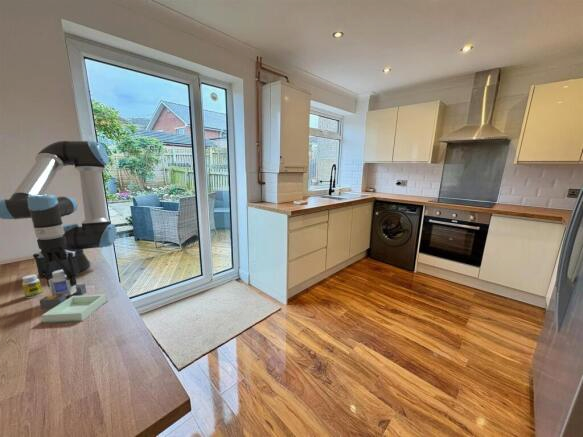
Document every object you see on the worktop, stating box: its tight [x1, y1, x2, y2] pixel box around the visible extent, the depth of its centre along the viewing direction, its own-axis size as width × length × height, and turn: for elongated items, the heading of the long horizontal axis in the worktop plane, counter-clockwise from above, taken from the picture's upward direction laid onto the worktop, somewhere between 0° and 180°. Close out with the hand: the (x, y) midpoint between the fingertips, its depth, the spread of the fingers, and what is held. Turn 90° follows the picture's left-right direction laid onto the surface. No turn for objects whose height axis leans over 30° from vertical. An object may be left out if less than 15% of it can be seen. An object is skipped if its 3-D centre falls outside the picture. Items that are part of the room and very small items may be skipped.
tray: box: [41, 293, 108, 324], centre depth 84 cm, size 12×12×3 cm
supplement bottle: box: [21, 274, 43, 299], centre depth 96 cm, size 5×5×8 cm
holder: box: [39, 283, 87, 310], centre depth 92 cm, size 12×7×4 cm, turn 4°
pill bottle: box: [51, 269, 70, 297], centre depth 92 cm, size 5×5×10 cm
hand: (64, 293), depth 93 cm, fingers closed on pill bottle, 5 cm apart
